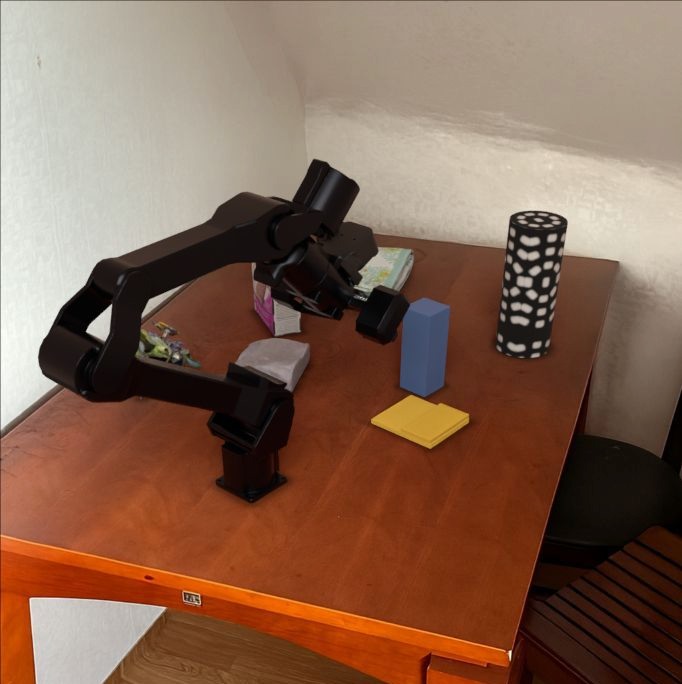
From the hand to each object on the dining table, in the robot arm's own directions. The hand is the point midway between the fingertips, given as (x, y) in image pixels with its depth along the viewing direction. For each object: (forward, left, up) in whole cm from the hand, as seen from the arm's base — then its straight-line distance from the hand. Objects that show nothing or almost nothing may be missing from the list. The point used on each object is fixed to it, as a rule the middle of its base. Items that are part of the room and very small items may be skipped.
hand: (367, 327), depth 121 cm
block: (+13, 0, -14) cm, 19 cm away
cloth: (+4, -6, -14) cm, 16 cm away
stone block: (+1, +19, -14) cm, 23 cm away
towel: (+34, +31, -14) cm, 48 cm away
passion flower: (-13, +29, -14) cm, 34 cm away
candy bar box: (+15, +31, -14) cm, 37 cm away
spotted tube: (+34, -4, -14) cm, 37 cm away
